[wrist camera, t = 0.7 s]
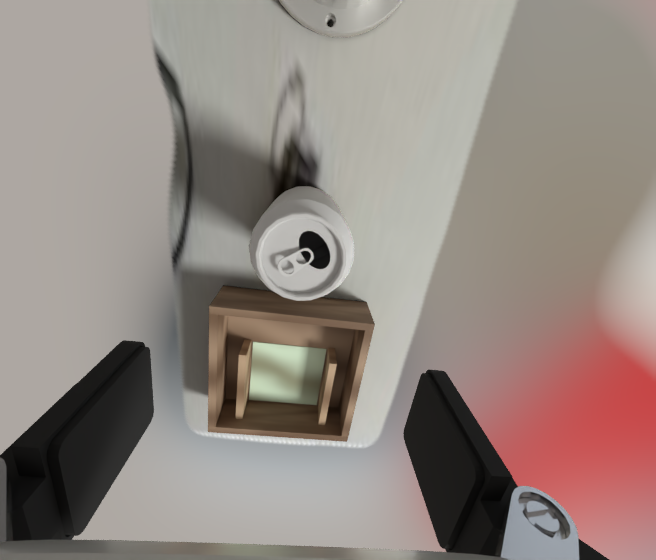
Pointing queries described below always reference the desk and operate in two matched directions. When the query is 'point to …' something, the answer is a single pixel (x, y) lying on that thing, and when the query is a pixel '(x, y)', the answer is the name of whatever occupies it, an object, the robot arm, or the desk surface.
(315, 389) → the walnut box
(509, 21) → the desk surface
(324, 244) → the can
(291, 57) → the desk surface
